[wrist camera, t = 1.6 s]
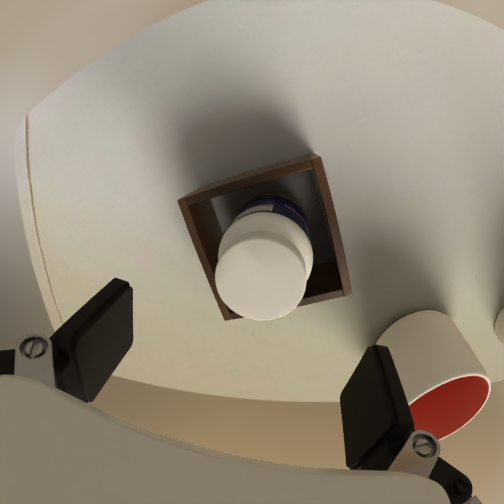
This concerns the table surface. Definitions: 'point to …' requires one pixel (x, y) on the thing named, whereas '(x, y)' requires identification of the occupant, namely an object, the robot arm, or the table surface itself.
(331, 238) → the holder
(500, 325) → the mug
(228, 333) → the table surface
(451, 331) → the cup
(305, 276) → the pill bottle
